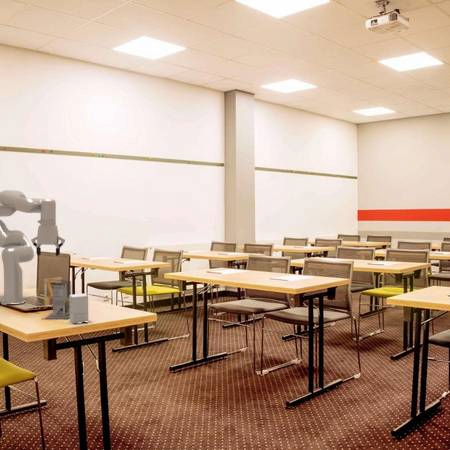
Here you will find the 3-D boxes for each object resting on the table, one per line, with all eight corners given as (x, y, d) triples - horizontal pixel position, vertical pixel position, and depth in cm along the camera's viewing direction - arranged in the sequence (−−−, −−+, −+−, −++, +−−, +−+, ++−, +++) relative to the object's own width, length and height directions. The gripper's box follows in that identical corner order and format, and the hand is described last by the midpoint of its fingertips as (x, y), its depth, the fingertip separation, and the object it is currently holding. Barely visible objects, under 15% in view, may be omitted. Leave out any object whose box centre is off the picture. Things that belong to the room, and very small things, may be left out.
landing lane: (41, 319, 244) (41, 318, 244) (53, 311, 262) (53, 310, 262) (68, 319, 244) (68, 318, 244) (78, 311, 262) (78, 310, 262)
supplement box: (85, 319, 244) (85, 293, 244) (88, 322, 238) (88, 295, 237) (69, 321, 241) (69, 294, 240) (72, 324, 234) (72, 296, 234)
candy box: (60, 305, 278) (60, 277, 278) (63, 306, 275) (63, 278, 275) (44, 307, 273) (43, 278, 272) (46, 308, 270) (46, 279, 269)
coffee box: (58, 312, 258) (58, 280, 257) (71, 312, 258) (71, 280, 257) (52, 316, 249) (52, 283, 248) (65, 316, 249) (65, 283, 248)
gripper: (28, 222, 263) (28, 256, 264) (62, 223, 263) (62, 256, 264) (34, 222, 271) (34, 254, 271) (66, 222, 271) (66, 254, 272)
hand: (48, 255), depth 268 cm, fingers open, 9 cm apart
